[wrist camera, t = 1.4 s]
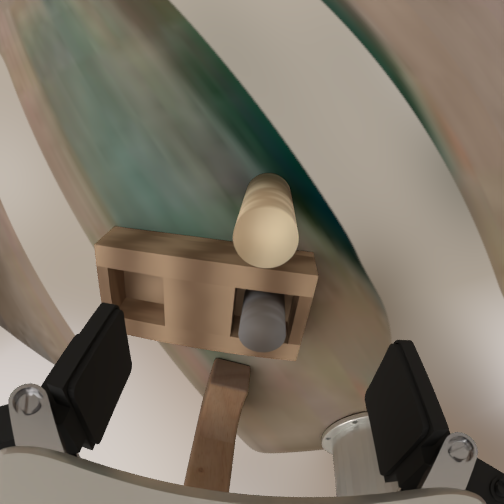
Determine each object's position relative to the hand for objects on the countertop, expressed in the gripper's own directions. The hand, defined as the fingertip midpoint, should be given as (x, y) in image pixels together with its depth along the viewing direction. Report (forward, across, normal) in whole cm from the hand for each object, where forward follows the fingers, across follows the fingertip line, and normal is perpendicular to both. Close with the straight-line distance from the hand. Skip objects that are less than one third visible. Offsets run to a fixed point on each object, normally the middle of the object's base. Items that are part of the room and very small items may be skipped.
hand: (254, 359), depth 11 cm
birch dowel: (+20, 0, 0) cm, 20 cm away
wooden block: (+20, +2, +25) cm, 32 cm away
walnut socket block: (+20, +5, +10) cm, 23 cm away
